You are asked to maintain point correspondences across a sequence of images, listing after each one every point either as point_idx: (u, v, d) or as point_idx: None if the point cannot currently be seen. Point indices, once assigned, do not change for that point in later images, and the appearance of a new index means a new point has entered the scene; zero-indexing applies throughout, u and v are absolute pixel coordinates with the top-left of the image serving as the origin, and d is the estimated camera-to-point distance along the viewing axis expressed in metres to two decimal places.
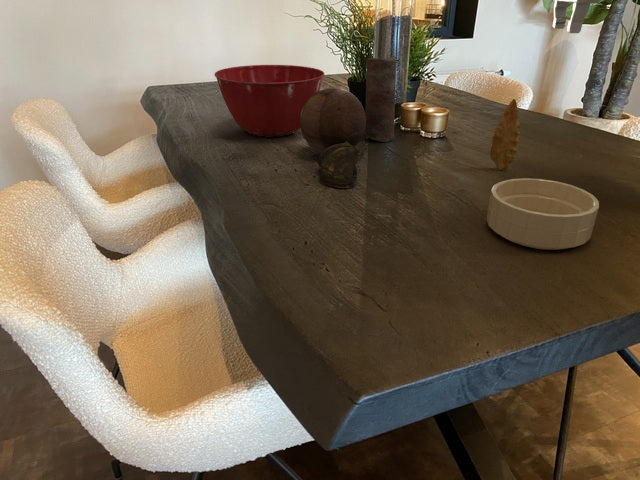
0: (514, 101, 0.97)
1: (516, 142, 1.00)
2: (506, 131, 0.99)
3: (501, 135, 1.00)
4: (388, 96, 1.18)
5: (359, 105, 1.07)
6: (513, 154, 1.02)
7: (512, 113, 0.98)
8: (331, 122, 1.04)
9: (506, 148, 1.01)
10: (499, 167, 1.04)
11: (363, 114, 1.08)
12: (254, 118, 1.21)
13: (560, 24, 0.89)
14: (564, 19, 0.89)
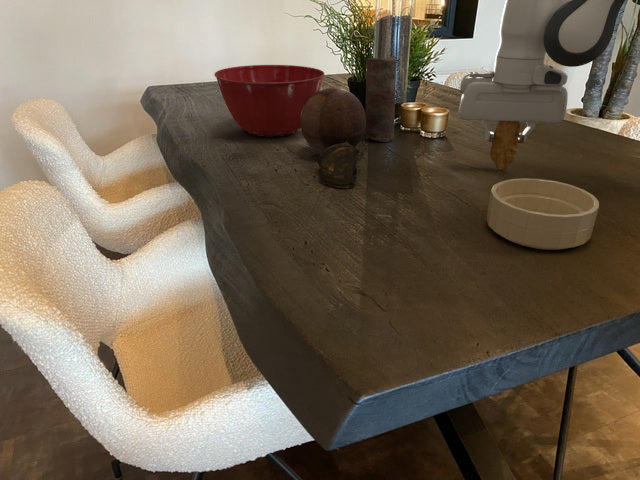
0: None
1: (516, 142, 1.00)
2: (506, 131, 0.99)
3: (501, 135, 1.00)
4: (388, 96, 1.18)
5: (359, 105, 1.07)
6: (513, 154, 1.02)
7: None
8: (331, 122, 1.04)
9: (506, 148, 1.01)
10: (499, 167, 1.04)
11: (363, 114, 1.08)
12: (254, 118, 1.21)
13: (518, 139, 1.01)
14: (519, 135, 1.00)
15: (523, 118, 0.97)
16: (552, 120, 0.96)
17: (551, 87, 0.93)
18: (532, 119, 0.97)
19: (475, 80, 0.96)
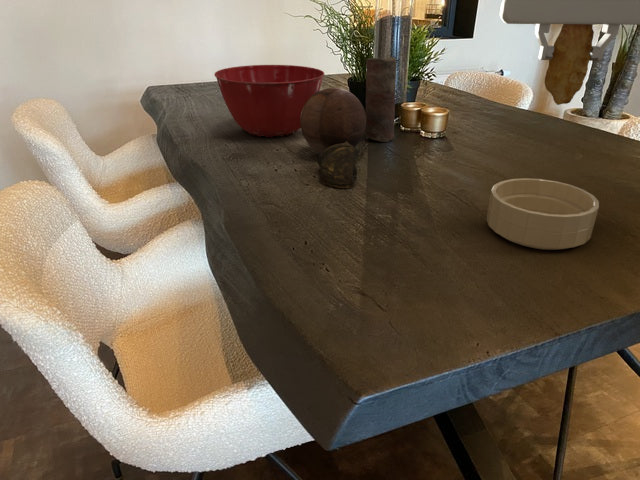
0: None
1: (586, 59, 0.67)
2: (573, 41, 0.66)
3: (564, 48, 0.67)
4: (388, 96, 1.18)
5: (359, 105, 1.07)
6: (581, 79, 0.68)
7: None
8: (331, 122, 1.04)
9: (571, 69, 0.67)
10: (558, 99, 0.70)
11: (363, 114, 1.08)
12: (254, 118, 1.21)
13: (590, 55, 0.67)
14: (592, 48, 0.66)
15: (601, 18, 0.63)
16: None
17: None
18: (615, 20, 0.63)
19: None
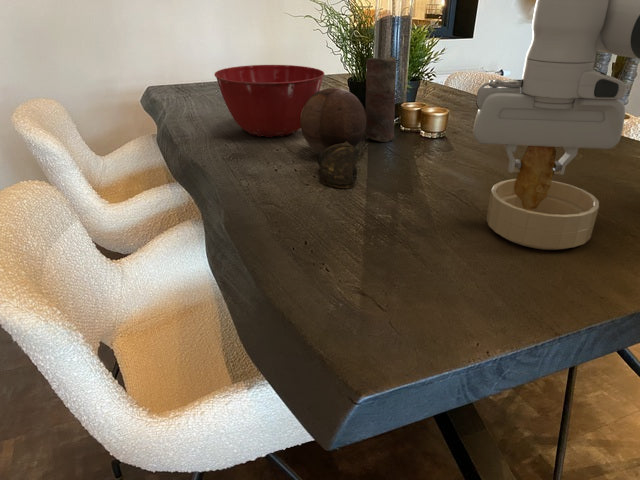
0: None
1: (550, 174, 0.75)
2: (537, 159, 0.74)
3: (530, 164, 0.74)
4: (388, 96, 1.18)
5: (359, 105, 1.07)
6: (546, 189, 0.76)
7: None
8: (331, 122, 1.04)
9: (537, 182, 0.75)
10: (526, 205, 0.78)
11: (363, 114, 1.08)
12: (254, 118, 1.21)
13: (553, 169, 0.75)
14: (555, 165, 0.74)
15: (561, 142, 0.71)
16: (602, 146, 0.71)
17: (603, 102, 0.67)
18: (574, 144, 0.71)
19: (497, 91, 0.71)
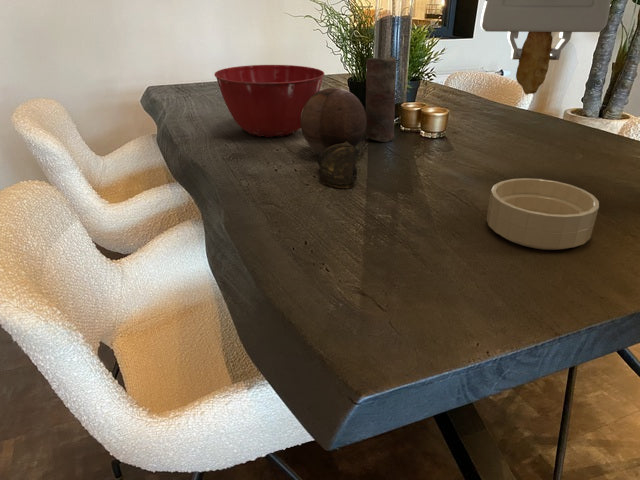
0: None
1: (547, 59, 0.86)
2: (536, 45, 0.85)
3: (530, 50, 0.86)
4: (388, 96, 1.18)
5: (360, 105, 1.07)
6: (543, 74, 0.87)
7: None
8: (331, 122, 1.04)
9: (536, 66, 0.87)
10: (527, 90, 0.89)
11: (364, 114, 1.08)
12: (254, 118, 1.21)
13: (550, 55, 0.86)
14: (551, 50, 0.86)
15: (557, 27, 0.83)
16: (591, 29, 0.82)
17: None
18: (568, 28, 0.83)
19: None
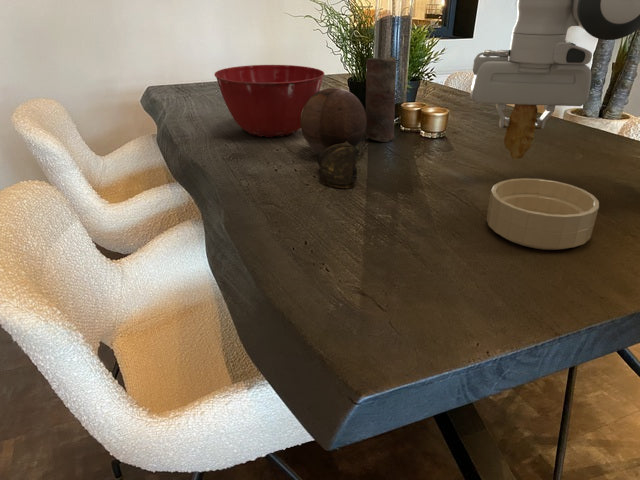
0: None
1: (533, 128, 0.92)
2: (522, 116, 0.91)
3: (517, 120, 0.92)
4: (388, 96, 1.18)
5: (360, 105, 1.07)
6: (529, 141, 0.93)
7: None
8: (331, 122, 1.04)
9: (522, 135, 0.93)
10: (514, 155, 0.95)
11: (364, 114, 1.08)
12: (254, 118, 1.21)
13: None
14: (536, 120, 0.91)
15: (541, 101, 0.89)
16: (573, 103, 0.88)
17: (573, 67, 0.84)
18: (551, 102, 0.88)
19: (489, 59, 0.88)
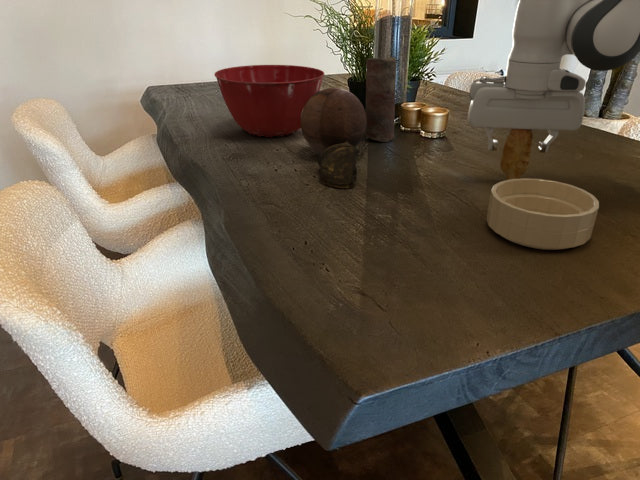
0: None
1: (528, 153, 0.94)
2: (518, 141, 0.93)
3: (512, 145, 0.94)
4: (388, 96, 1.18)
5: (360, 105, 1.07)
6: (525, 165, 0.95)
7: None
8: (332, 122, 1.04)
9: (518, 159, 0.95)
10: (510, 178, 0.97)
11: (364, 114, 1.08)
12: (254, 118, 1.21)
13: (539, 148, 0.94)
14: (541, 144, 0.93)
15: (537, 126, 0.91)
16: (568, 128, 0.90)
17: (567, 93, 0.86)
18: (546, 127, 0.91)
19: (485, 85, 0.90)
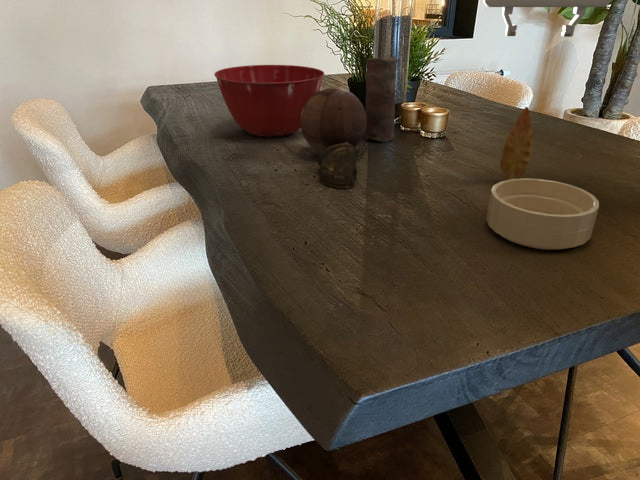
0: (527, 109, 0.91)
1: (528, 153, 0.94)
2: (518, 141, 0.93)
3: (512, 145, 0.94)
4: (388, 96, 1.18)
5: (360, 105, 1.07)
6: (525, 165, 0.95)
7: (524, 122, 0.92)
8: (332, 122, 1.04)
9: (518, 159, 0.95)
10: (510, 178, 0.97)
11: (364, 114, 1.08)
12: (254, 118, 1.21)
13: (563, 32, 0.84)
14: (565, 26, 0.84)
15: (561, 2, 0.81)
16: (596, 4, 0.80)
17: None
18: (572, 3, 0.81)
19: None
